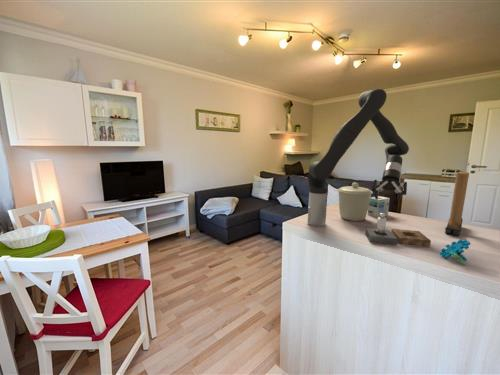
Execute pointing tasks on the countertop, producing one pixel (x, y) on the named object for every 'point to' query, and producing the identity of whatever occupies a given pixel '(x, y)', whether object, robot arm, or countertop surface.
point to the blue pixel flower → (455, 250)
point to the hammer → (457, 204)
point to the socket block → (380, 237)
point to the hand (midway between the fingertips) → (386, 199)
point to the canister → (354, 202)
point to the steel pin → (381, 224)
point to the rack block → (411, 238)
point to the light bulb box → (378, 206)
